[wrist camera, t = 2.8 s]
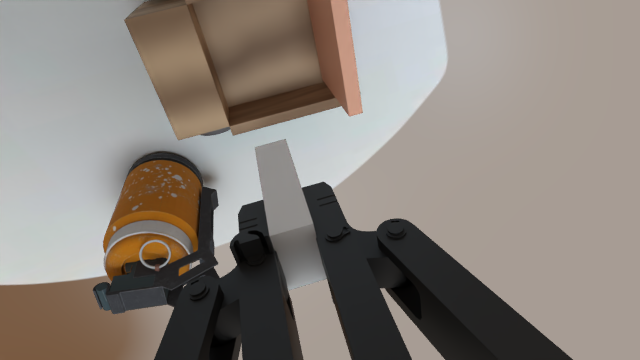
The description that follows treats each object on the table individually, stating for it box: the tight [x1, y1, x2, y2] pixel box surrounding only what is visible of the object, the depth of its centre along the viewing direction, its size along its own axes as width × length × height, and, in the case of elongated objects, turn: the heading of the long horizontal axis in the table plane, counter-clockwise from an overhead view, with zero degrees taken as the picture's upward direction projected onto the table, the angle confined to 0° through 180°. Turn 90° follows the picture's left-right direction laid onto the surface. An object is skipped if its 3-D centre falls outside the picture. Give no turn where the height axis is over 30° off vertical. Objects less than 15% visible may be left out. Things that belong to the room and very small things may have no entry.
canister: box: [93, 153, 220, 314], centre depth 42 cm, size 9×11×20 cm
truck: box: [124, 0, 341, 140], centre depth 39 cm, size 16×17×10 cm
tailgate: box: [307, 0, 363, 116], centre depth 35 cm, size 10×2×10 cm, turn 11°
